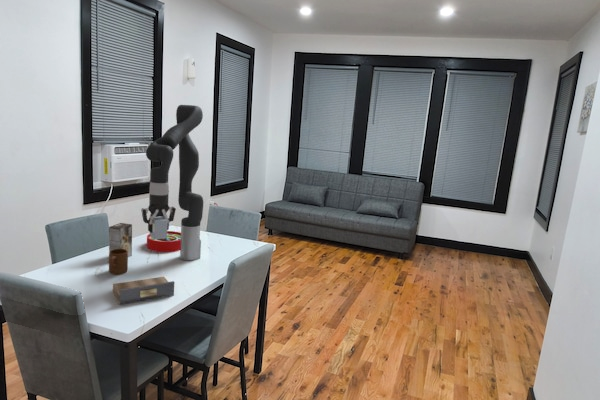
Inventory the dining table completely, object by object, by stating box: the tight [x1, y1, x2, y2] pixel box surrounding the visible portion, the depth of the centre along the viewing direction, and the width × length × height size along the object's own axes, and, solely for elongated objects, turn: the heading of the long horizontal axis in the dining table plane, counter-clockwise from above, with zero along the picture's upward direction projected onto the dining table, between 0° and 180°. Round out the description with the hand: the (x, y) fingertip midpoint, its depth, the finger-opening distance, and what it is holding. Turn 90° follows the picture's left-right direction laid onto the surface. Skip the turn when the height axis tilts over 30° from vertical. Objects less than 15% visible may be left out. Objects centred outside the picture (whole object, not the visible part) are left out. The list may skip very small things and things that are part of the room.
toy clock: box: [146, 230, 181, 253], centre depth 217 cm, size 20×6×20 cm
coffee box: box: [108, 222, 133, 258], centre depth 194 cm, size 9×6×16 cm
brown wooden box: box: [112, 275, 175, 306], centre depth 159 cm, size 20×14×6 cm
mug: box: [108, 249, 129, 275], centre depth 175 cm, size 12×8×9 cm, turn 3°
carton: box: [149, 216, 168, 239], centre depth 170 cm, size 6×8×8 cm
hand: (158, 231), depth 170 cm, fingers closed on carton, 5 cm apart
